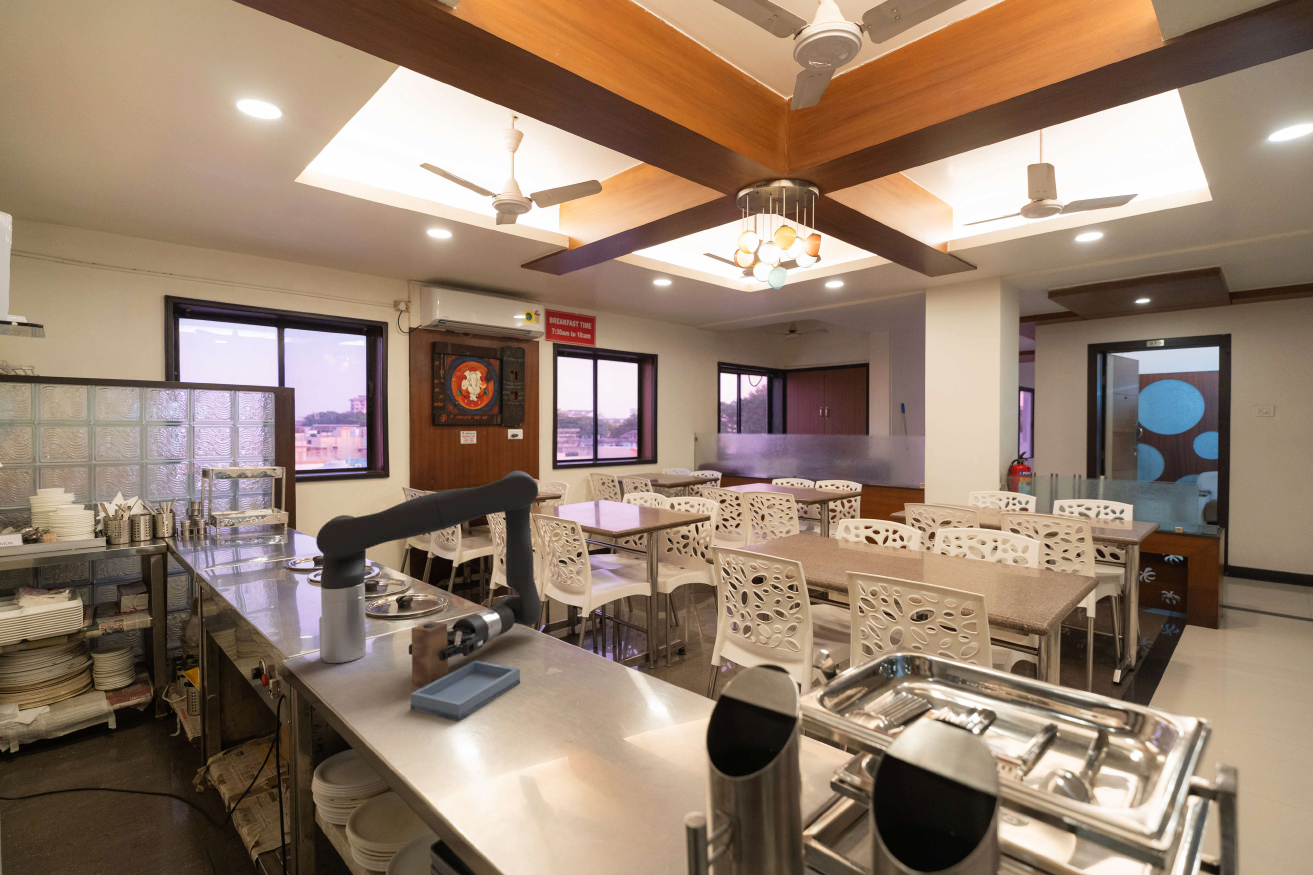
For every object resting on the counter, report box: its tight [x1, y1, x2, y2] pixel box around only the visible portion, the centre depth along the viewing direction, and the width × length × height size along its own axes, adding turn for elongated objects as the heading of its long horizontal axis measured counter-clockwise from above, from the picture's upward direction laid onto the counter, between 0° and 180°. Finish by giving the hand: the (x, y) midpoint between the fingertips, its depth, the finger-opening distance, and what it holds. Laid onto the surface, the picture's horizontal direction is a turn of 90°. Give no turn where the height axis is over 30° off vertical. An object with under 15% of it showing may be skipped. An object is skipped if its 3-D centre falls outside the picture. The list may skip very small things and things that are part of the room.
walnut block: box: [411, 620, 449, 688], centre depth 129 cm, size 5×5×12 cm
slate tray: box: [410, 660, 521, 722], centre depth 122 cm, size 12×18×3 cm, turn 156°
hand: (425, 653), depth 127 cm, fingers open, 8 cm apart
